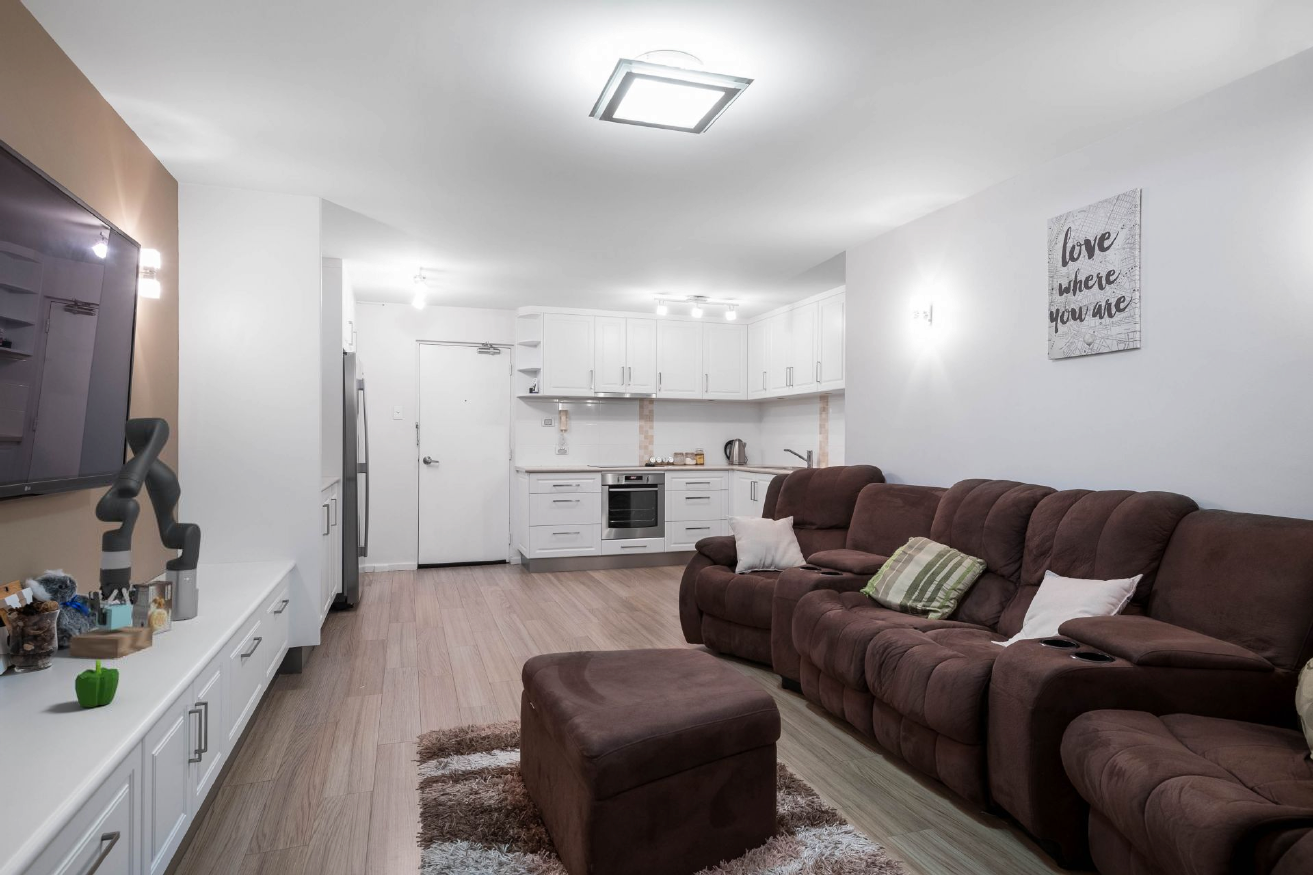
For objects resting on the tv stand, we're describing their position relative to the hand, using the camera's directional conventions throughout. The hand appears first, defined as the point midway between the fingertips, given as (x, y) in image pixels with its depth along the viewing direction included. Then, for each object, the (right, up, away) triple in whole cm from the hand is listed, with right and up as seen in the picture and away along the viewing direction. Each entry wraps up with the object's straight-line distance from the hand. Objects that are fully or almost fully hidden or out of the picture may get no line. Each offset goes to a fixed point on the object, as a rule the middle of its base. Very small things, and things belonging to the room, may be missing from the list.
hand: (113, 622), depth 219 cm
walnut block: (0, -9, 0) cm, 9 cm away
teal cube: (0, -1, 0) cm, 1 cm away
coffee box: (-3, -9, +22) cm, 24 cm away
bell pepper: (+27, -9, -42) cm, 51 cm away
